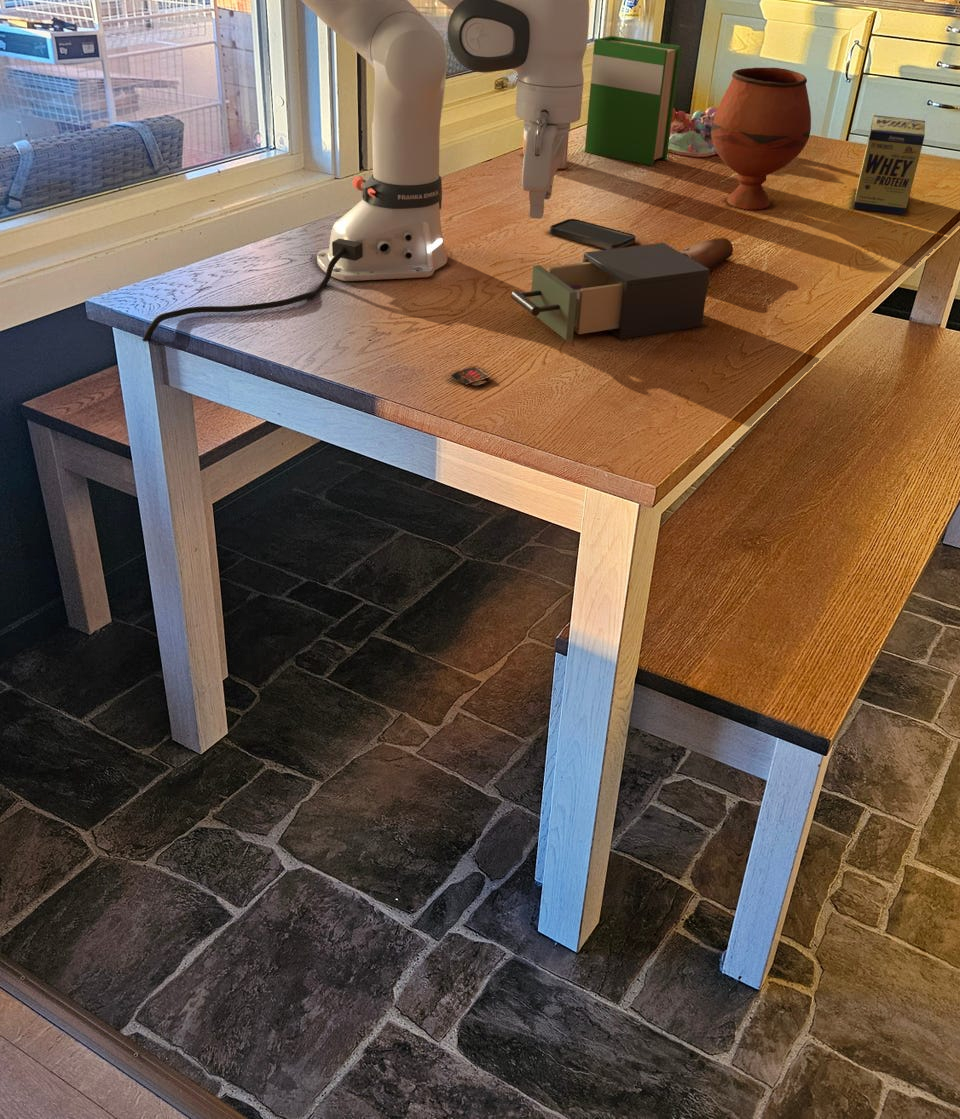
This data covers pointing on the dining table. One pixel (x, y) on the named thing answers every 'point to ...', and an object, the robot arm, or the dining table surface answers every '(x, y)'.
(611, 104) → the hardback book
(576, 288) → the beige rectangular block
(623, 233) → the phone
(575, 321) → the drawer
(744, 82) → the goblet
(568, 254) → the dining table surface
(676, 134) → the candy landscape model
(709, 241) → the sunglasses case
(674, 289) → the black storage box
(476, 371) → the matchbox
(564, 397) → the dining table surface
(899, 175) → the protein box
